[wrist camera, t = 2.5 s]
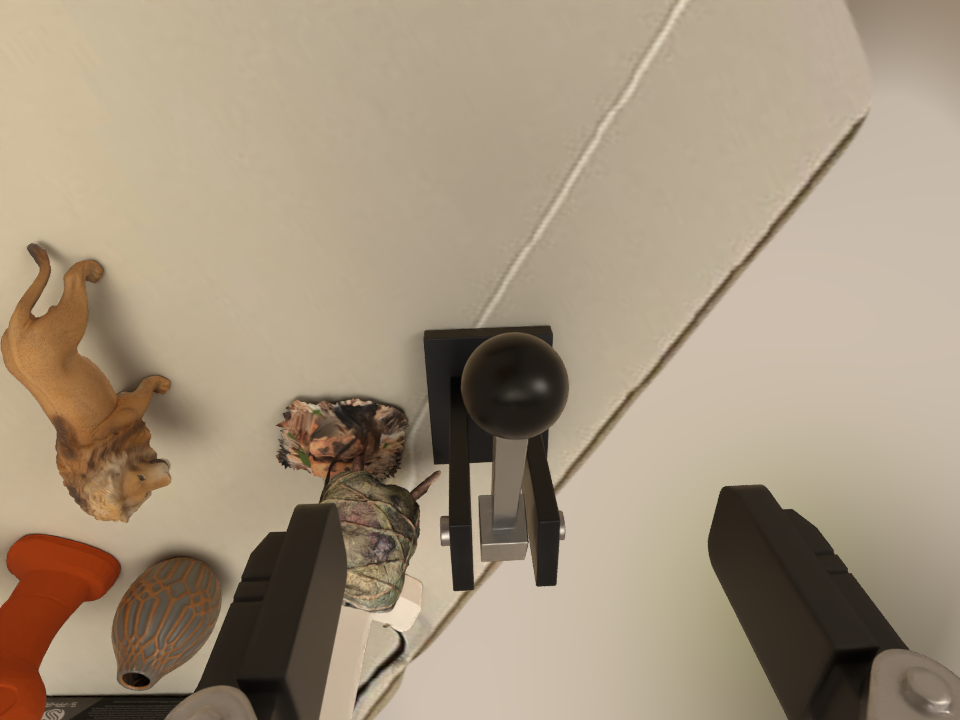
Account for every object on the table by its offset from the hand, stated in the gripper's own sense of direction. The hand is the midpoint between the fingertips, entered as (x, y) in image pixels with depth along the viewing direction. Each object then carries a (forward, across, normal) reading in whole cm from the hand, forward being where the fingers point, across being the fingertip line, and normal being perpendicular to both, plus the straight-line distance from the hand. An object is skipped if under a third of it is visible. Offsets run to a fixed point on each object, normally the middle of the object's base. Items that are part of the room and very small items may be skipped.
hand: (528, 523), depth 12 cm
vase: (+23, +24, +28) cm, 44 cm away
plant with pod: (+23, +9, +15) cm, 29 cm away
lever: (+10, 0, +5) cm, 11 cm away
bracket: (+23, 0, +12) cm, 26 cm away
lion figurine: (+23, +22, +8) cm, 33 cm away
